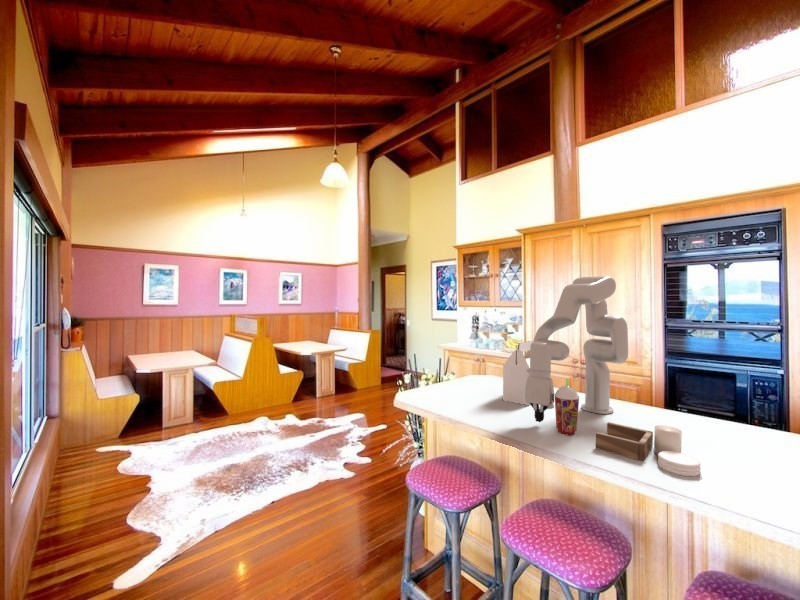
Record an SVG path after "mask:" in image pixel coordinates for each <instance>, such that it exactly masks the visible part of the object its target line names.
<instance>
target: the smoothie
mask: <svg viewBox="0 0 800 600" xmlns="http://www.w3.org/2000/svg"><path fill="white" fill-rule="evenodd" d="M568 383H569V378H566V379H565V385H564V386H561V387H559V388H558V389H556V391H555V393H554V407H555V409H554V410H555V427H556V429H557V432H558V433H559V434H561V435H563V434H564V435H563V436H574V435H575V434H576V432H577V431H578V430H577V428H578V417H579V416H578V415H579V404H580V396H579V394H578V392H577V391H576V390H575V388H573V387H572V386H569V385H568Z"/></svg>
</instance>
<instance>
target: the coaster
mask: <svg viewBox="0 0 800 600" xmlns="http://www.w3.org/2000/svg"><path fill="white" fill-rule="evenodd" d="M657 464H658V466H659V467H660V468H661V469H663V470H664V471H666V472H668V473H671V474H675V475H678V476H682V477H689V476H694V477H697V476H696V475H698V476H700V475H699V474H701V462H700V461H699V459H697V458H695V457H693V456H692V455H690V454H686V453H683V452H681V453H679V452H674V451H662V452H660V453H659V454H657Z"/></svg>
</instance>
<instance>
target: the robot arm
mask: <svg viewBox="0 0 800 600" xmlns="http://www.w3.org/2000/svg"><path fill="white" fill-rule="evenodd" d="M616 289H617V283H616V280H615V279H614V278H613V277H611V276H608V275H605V276H604V275H602V276H582V277H577V278H575V279H574V280H573V281H572V284H570V283H569V284H567V285H566V286H564V288H563V289H562V292H561V294H560V297H559V299H558V300H559V301H558V302H557V305H556V308H555V311H554V314H552V316H551V317H549V318H548V319H547V320H545V322H543V324H541V326H539V327H538V328H537V330H536V332H535V334H534V338H533V340H532V341H533V343H531V345H530V369H527V372H528V373H529V375H530V376H528V377H527V381H526V387H525V400H526V403H527V404H529V405H530V406H531V408H532V409H533V411H534V419H535V422H538V423H542V422H543V421H544V419H545V411H546V410H551V409H554V407H555V395H554V394H555V389H554V387H555V386H554V381H553V378H551V368H552V367H551V366H552V365H551V363H552V361H558V362H559V361H560V362H562V361H564V360H566V359H567V358H568V357H569V355H570V348H569V346H568V345H567V344H566V343H565V342H564V341H563V342H562V341H558V340H550V339H549V338H550V337H551V336H552V334H554V333H555V332H557V331H559V330H561V329H565V328H566V327H567V328H568V327H570V326H572V325H573V324H575V322H576V321H577V318H578V315H579V312H580V311H581V310H580V309H581V307H582V305H584V307H585V308H584V309H585V326H586V332H587V334H588V335H591V336H594V337H601V338H589V339H587V340H586V341H585V342H584V344H583V348H582V349H583V355H584V362H585V383H584V385H585V389H584V390H585V393H584V397H585V399H584V403H581V405H580V407H581V409H582V410H583V411H586V412H589V413H594V414H600V415H605V414H606V415H607V414H608V415H609V414H613V413H614V408H613V407H611V406H610V398H611V397H610V395H611V393H610V392H611V391H610V389H611V387H610V385H611V383H610V381H611V379H610V377H611V374H610V367H609V366H608V364H607V363H612V364H620V365H621V364H624V363H625V362H627V359H628V356H629V334H628V333H629V330H628V329H629V328H628V322H627V321H626V319H625V318H624V317H622V316H619V315H613V314H612V315H611V314H609V313H608V304H607V301H606V299H609V298H610V297H611V296H613V295H614V293H615V291H616ZM602 338H610V339H602ZM526 395H527V396H526Z"/></svg>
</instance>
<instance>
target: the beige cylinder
mask: <svg viewBox="0 0 800 600" xmlns="http://www.w3.org/2000/svg"><path fill="white" fill-rule="evenodd" d="M682 434H683V432H682V430H681V429H679V428H676V427H674V426H670V425H662V424H659V425H655V426H654V434H653V439H654V440H653V445H654V446H653V452H654V453H655V454H657V455H658V454H659V453H660V452H662V451H674V452H679V453H682Z"/></svg>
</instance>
